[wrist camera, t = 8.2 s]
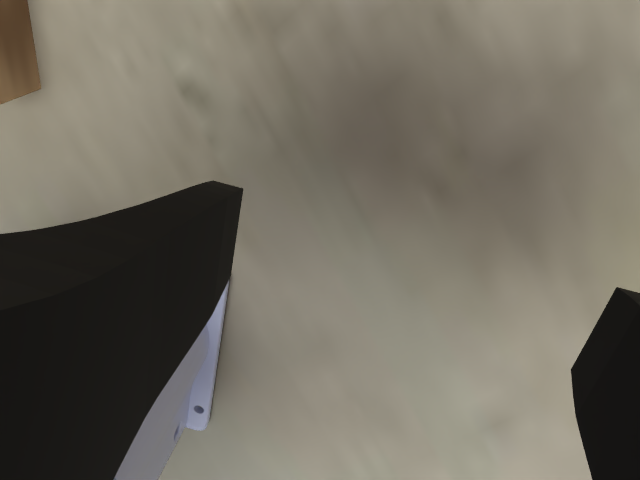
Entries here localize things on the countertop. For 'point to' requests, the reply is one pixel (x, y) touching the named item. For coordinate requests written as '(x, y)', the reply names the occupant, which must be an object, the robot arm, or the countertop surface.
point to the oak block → (16, 51)
